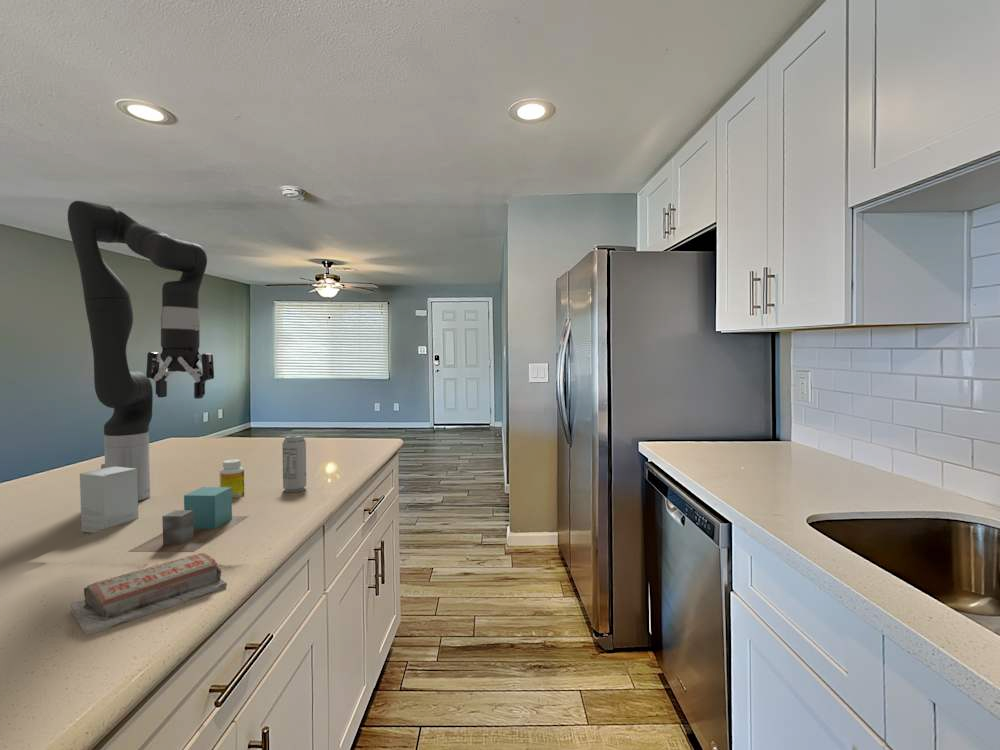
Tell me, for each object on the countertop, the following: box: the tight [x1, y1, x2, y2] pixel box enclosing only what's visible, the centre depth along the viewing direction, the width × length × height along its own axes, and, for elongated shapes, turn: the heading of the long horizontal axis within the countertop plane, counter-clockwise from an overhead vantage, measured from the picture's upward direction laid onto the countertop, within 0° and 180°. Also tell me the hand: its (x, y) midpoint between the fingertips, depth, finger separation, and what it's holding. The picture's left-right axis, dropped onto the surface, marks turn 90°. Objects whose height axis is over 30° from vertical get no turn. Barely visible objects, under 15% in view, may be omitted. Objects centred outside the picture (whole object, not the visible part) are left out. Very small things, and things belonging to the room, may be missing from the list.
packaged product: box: [69, 552, 228, 636], centre depth 77 cm, size 18×5×10 cm
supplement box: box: [79, 466, 139, 534], centre depth 107 cm, size 7×7×13 cm
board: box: [129, 509, 249, 553], centre depth 101 cm, size 12×20×7 cm, turn 0°
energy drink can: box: [282, 434, 307, 493], centre depth 138 cm, size 6×6×15 cm
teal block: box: [183, 486, 233, 529], centre depth 106 cm, size 6×6×7 cm
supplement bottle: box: [219, 458, 245, 498], centre depth 128 cm, size 6×6×10 cm
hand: (180, 397), depth 115 cm, fingers open, 8 cm apart
